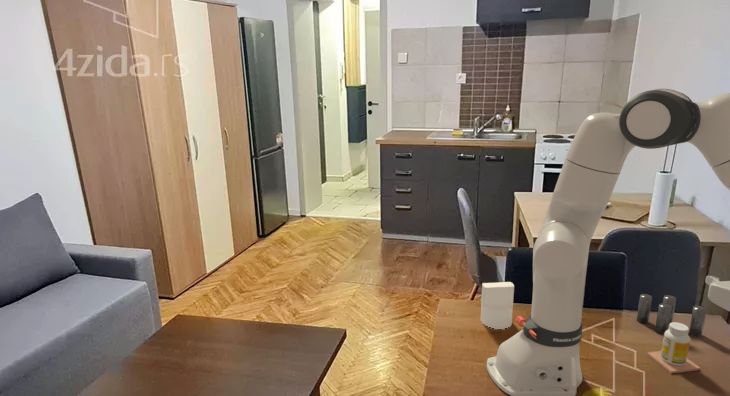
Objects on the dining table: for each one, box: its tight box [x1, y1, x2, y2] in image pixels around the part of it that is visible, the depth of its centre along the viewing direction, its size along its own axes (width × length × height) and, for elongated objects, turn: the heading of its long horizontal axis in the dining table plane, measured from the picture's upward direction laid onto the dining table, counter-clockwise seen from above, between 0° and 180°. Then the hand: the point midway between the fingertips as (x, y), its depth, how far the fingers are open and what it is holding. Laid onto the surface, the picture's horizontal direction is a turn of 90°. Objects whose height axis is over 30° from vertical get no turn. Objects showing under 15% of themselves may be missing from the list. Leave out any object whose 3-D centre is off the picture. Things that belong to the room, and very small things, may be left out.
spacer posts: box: [636, 293, 707, 338], centre depth 130 cm, size 12×12×8 cm
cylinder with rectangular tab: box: [480, 281, 515, 330], centre depth 135 cm, size 9×9×12 cm
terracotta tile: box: [646, 350, 701, 374], centre depth 115 cm, size 8×8×1 cm
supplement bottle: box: [660, 321, 691, 366], centre depth 114 cm, size 5×5×10 cm
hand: (727, 277), depth 99 cm, fingers open, 8 cm apart
